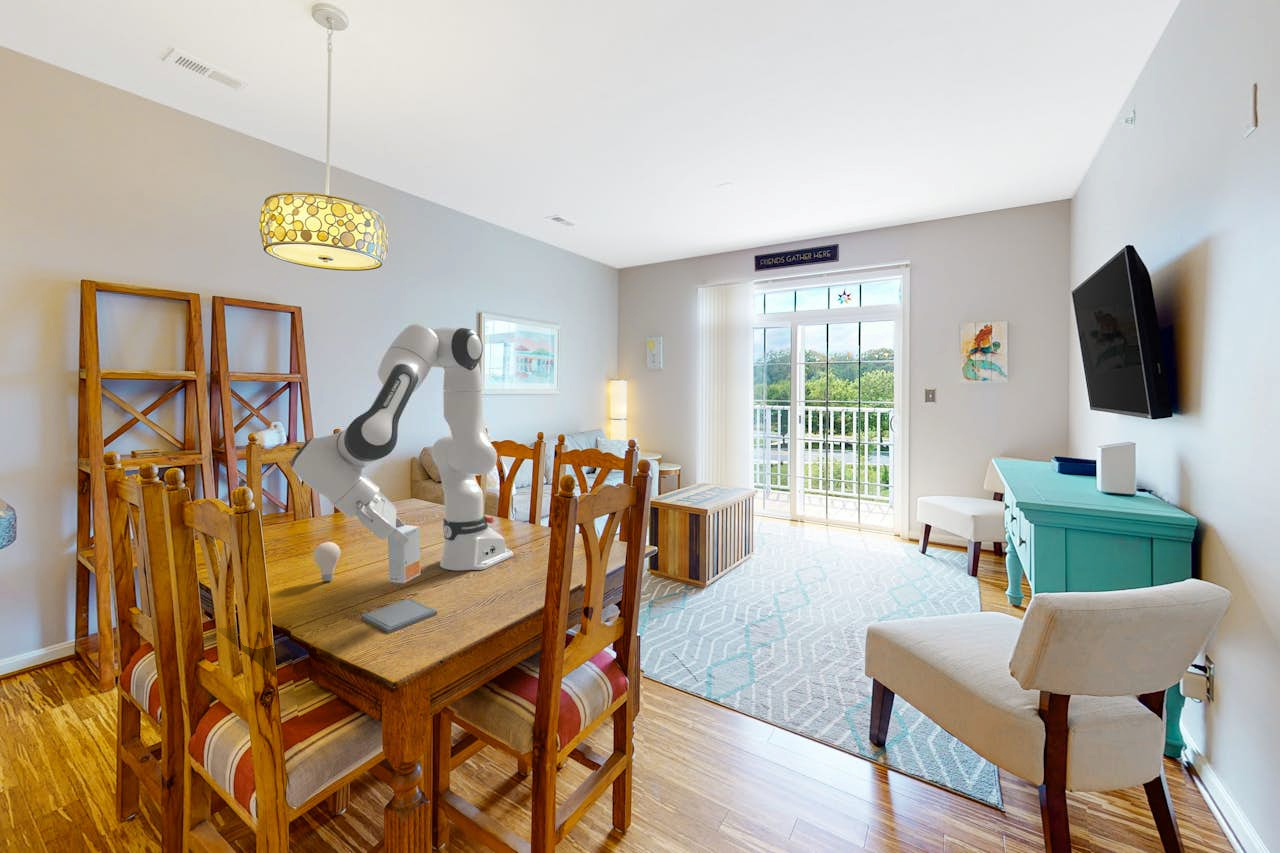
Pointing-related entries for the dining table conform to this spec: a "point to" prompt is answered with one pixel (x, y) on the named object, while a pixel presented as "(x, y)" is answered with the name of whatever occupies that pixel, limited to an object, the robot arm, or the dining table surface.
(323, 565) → the light bulb
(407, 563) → the skincare box
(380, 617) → the plate
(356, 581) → the dining table surface
